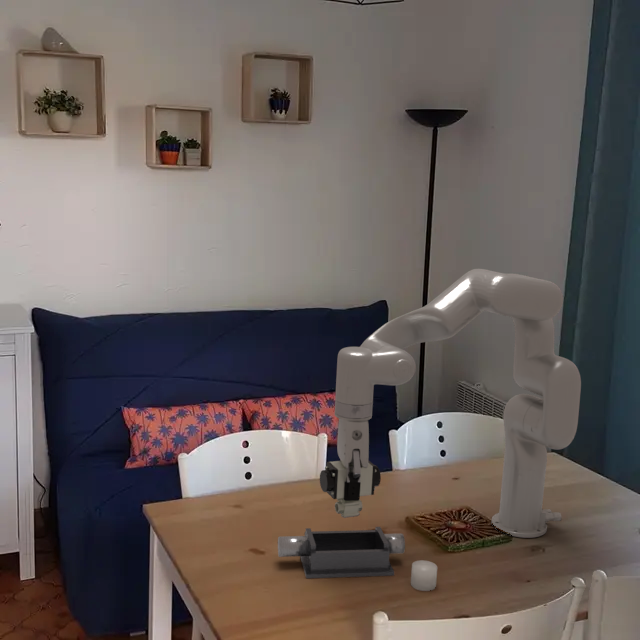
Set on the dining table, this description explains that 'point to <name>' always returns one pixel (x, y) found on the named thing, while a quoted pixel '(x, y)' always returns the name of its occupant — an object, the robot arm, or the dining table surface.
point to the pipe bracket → (343, 552)
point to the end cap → (423, 575)
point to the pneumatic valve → (335, 482)
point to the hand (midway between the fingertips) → (348, 493)
